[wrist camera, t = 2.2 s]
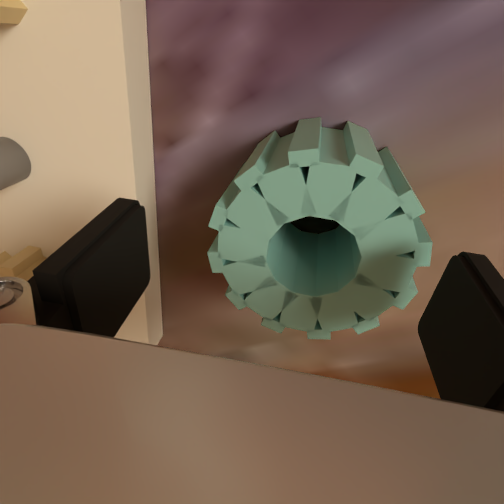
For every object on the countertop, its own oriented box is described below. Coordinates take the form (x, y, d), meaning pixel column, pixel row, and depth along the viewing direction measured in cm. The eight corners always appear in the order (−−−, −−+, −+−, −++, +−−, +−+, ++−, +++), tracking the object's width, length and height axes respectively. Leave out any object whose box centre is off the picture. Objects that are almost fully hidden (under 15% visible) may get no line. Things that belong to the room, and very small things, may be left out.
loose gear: (428, 132, 14) (472, 171, 10) (374, 282, 18) (388, 355, 14) (244, 106, 15) (211, 132, 10) (232, 255, 19) (204, 317, 15)
